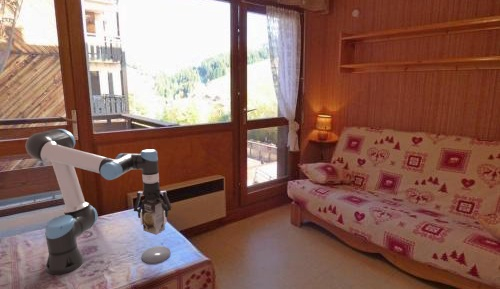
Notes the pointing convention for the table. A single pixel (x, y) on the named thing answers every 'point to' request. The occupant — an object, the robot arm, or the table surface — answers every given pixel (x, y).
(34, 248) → the table surface
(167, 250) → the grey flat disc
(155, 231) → the coffee box
